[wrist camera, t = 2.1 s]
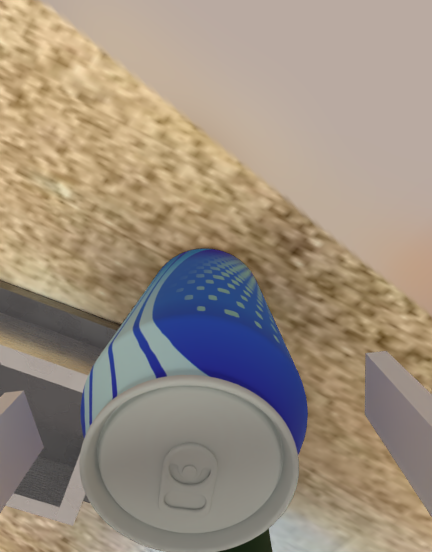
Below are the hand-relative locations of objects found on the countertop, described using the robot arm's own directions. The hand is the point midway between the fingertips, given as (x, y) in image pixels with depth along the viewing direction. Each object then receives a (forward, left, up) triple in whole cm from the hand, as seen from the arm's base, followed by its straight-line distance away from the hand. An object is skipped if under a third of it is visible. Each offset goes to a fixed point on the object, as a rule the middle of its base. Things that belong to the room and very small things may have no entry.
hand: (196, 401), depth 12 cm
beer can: (0, 0, -13) cm, 13 cm away
